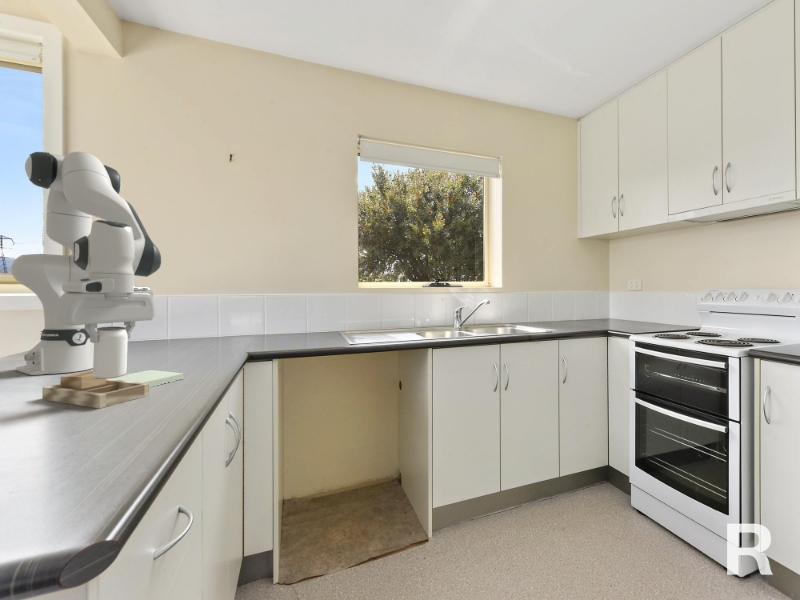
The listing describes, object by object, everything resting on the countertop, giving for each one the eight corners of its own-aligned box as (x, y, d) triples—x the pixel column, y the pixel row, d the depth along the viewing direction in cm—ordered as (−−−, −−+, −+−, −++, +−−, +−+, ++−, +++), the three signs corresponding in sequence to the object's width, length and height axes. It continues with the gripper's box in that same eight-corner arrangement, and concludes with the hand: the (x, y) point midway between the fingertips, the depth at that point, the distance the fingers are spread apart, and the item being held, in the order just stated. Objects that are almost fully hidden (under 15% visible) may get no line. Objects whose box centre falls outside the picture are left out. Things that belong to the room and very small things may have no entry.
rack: (42, 399, 85) (42, 387, 85) (94, 387, 96) (94, 377, 96) (100, 408, 79) (100, 395, 79) (149, 395, 90) (149, 383, 90)
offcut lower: (60, 399, 87) (60, 387, 86) (92, 392, 93) (92, 381, 93) (76, 402, 85) (76, 390, 85) (108, 394, 91) (108, 383, 91)
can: (107, 380, 83) (109, 331, 83) (85, 377, 84) (87, 328, 84) (132, 373, 90) (134, 328, 89) (112, 370, 91) (113, 325, 90)
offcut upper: (60, 388, 86) (60, 376, 86) (86, 382, 92) (86, 370, 92) (81, 389, 85) (81, 377, 85) (105, 382, 92) (106, 371, 92)
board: (102, 385, 99) (102, 379, 99) (150, 375, 112) (150, 369, 112) (137, 390, 94) (137, 383, 94) (183, 379, 108) (183, 373, 108)
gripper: (144, 286, 97) (143, 335, 97) (53, 283, 78) (52, 345, 78) (161, 287, 95) (160, 337, 96) (72, 284, 76) (71, 347, 76)
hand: (110, 340), depth 87 cm, fingers closed on can, 5 cm apart
